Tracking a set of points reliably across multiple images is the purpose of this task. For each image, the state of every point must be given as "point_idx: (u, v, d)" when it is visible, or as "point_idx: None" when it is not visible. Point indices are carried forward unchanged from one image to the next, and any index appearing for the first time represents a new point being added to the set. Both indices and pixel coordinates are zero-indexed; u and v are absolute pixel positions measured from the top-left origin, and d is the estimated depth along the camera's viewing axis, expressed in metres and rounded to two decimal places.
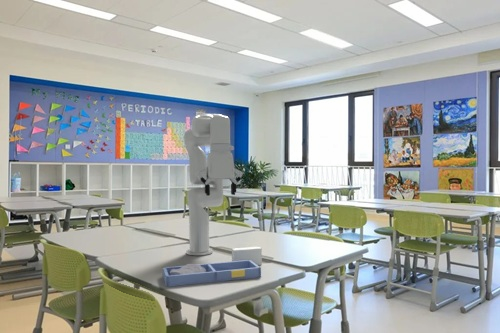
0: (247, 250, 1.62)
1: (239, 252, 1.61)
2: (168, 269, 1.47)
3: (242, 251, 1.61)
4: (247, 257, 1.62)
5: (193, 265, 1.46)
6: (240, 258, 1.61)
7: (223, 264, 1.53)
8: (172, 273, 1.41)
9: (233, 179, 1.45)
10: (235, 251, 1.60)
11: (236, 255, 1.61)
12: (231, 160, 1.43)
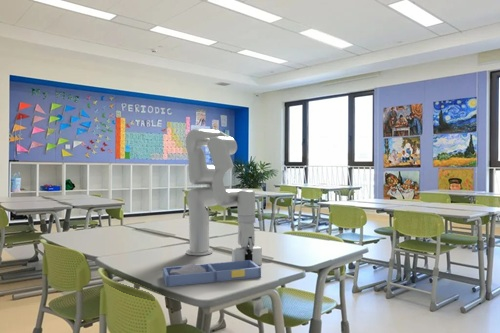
0: None
1: (239, 252, 1.61)
2: (168, 269, 1.47)
3: (242, 251, 1.61)
4: None
5: (193, 265, 1.47)
6: (240, 258, 1.61)
7: (223, 264, 1.53)
8: (172, 273, 1.41)
9: None
10: (235, 251, 1.60)
11: (236, 255, 1.60)
12: None
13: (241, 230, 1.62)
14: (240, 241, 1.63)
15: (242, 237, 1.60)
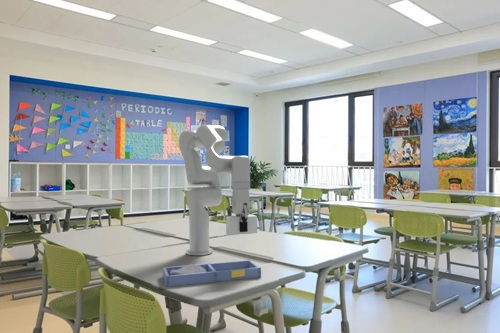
0: None
1: (234, 219, 1.54)
2: (168, 269, 1.47)
3: (237, 218, 1.55)
4: None
5: (193, 265, 1.46)
6: (235, 226, 1.55)
7: (223, 264, 1.53)
8: (172, 273, 1.41)
9: None
10: (230, 218, 1.54)
11: (231, 222, 1.54)
12: None
13: (236, 197, 1.55)
14: (234, 209, 1.56)
15: (237, 204, 1.54)
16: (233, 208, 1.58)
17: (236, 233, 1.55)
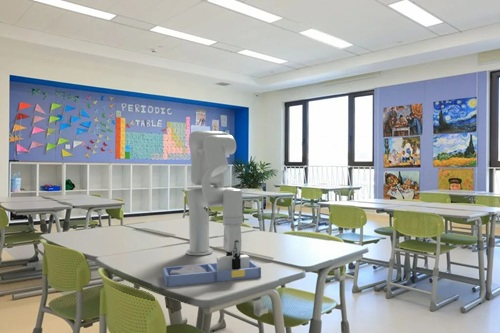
0: None
1: (224, 261, 1.46)
2: (168, 269, 1.47)
3: (228, 260, 1.46)
4: None
5: (193, 266, 1.46)
6: (226, 268, 1.46)
7: None
8: (172, 273, 1.41)
9: None
10: (220, 260, 1.46)
11: (221, 264, 1.46)
12: None
13: (227, 233, 1.46)
14: (226, 245, 1.48)
15: (228, 241, 1.45)
16: (224, 244, 1.50)
17: None
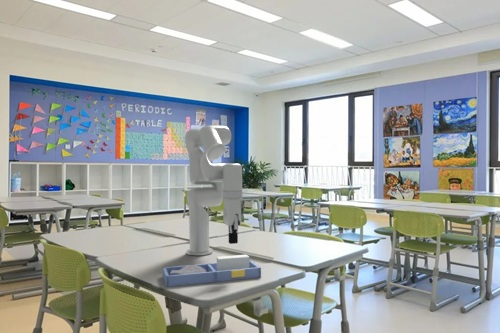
0: (233, 259, 1.47)
1: (224, 261, 1.46)
2: (168, 269, 1.47)
3: (228, 260, 1.46)
4: (233, 267, 1.47)
5: (193, 266, 1.46)
6: (226, 268, 1.46)
7: None
8: (172, 274, 1.41)
9: None
10: (220, 260, 1.46)
11: (221, 264, 1.46)
12: None
13: (226, 207, 1.46)
14: (225, 219, 1.48)
15: (227, 215, 1.45)
16: (224, 219, 1.50)
17: None
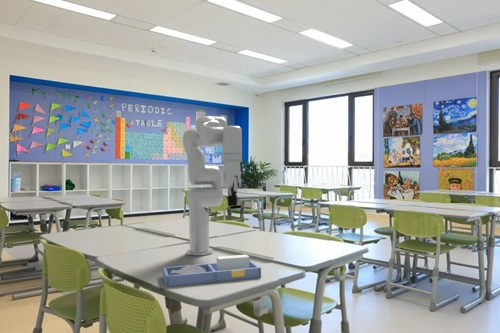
0: (233, 259, 1.47)
1: (224, 261, 1.46)
2: (168, 269, 1.47)
3: (227, 260, 1.46)
4: (233, 267, 1.47)
5: (193, 266, 1.46)
6: (226, 268, 1.46)
7: None
8: (172, 274, 1.41)
9: None
10: (220, 260, 1.46)
11: (221, 264, 1.46)
12: None
13: (226, 169, 1.46)
14: (225, 182, 1.48)
15: (227, 176, 1.45)
16: (224, 181, 1.50)
17: None
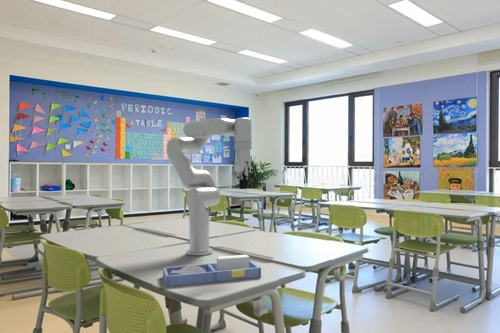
0: (233, 259, 1.47)
1: (224, 261, 1.46)
2: (168, 269, 1.47)
3: (227, 260, 1.46)
4: (233, 267, 1.47)
5: (193, 266, 1.46)
6: (226, 268, 1.46)
7: None
8: (172, 274, 1.41)
9: None
10: (220, 260, 1.46)
11: (221, 264, 1.46)
12: None
13: (238, 156, 1.65)
14: (237, 167, 1.67)
15: (238, 162, 1.64)
16: (235, 167, 1.69)
17: None
